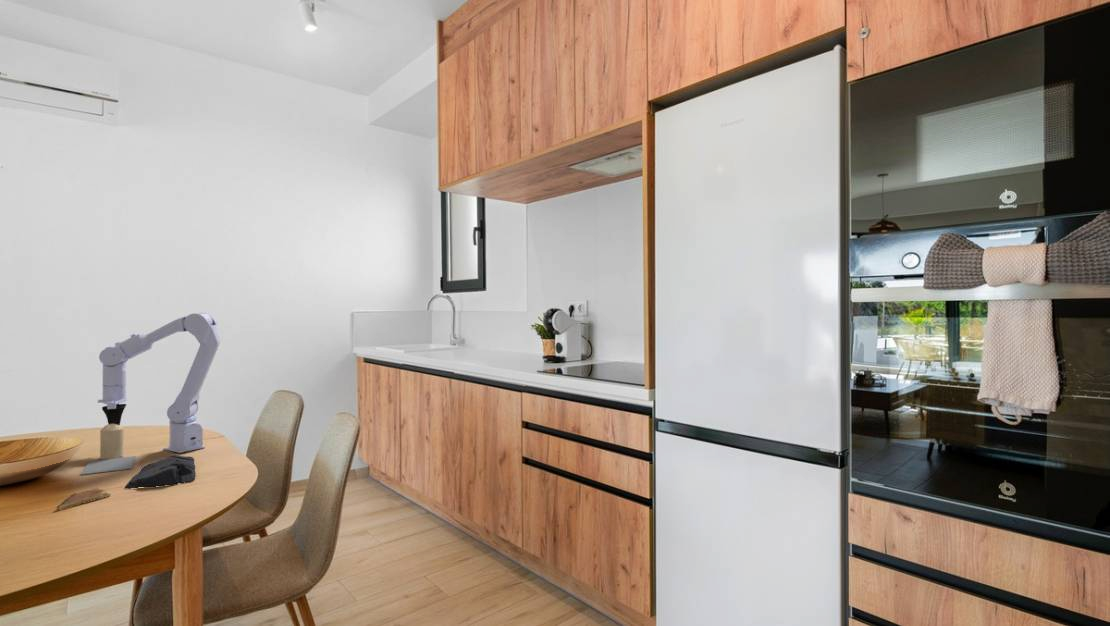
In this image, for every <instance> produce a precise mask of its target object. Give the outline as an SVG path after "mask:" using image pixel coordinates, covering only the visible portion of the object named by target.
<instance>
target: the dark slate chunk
mask: <svg viewBox="0 0 1110 626" xmlns="http://www.w3.org/2000/svg"><path fill="white" fill-rule="evenodd" d="M140 470H141V471H140ZM140 470H139V471H140V472H139V471H138V472H137V473H138V474H137V473H136V474H135V475H133V476H132V477H131V478H130V480H129V481H128V482H127V484H125V486H124V488H138V487H155V488H157V487H156V486H163V487H166V486H165V485H171V486H175V485H174V484H176V485H179V484H178V483H182V484H185V483H184V482H186V483H192V482H194V481H195V480H196V465H195V458H194V457H193V456H190V455H189V456H185V455H184V456H183V455H170V456H167V457H164V458H161V459H160V460H157V461H154V462H153V461H152V462H150V463H148V464H147V465H144V466H142V467H141V469H140ZM191 481H192V482H191Z"/></svg>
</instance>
